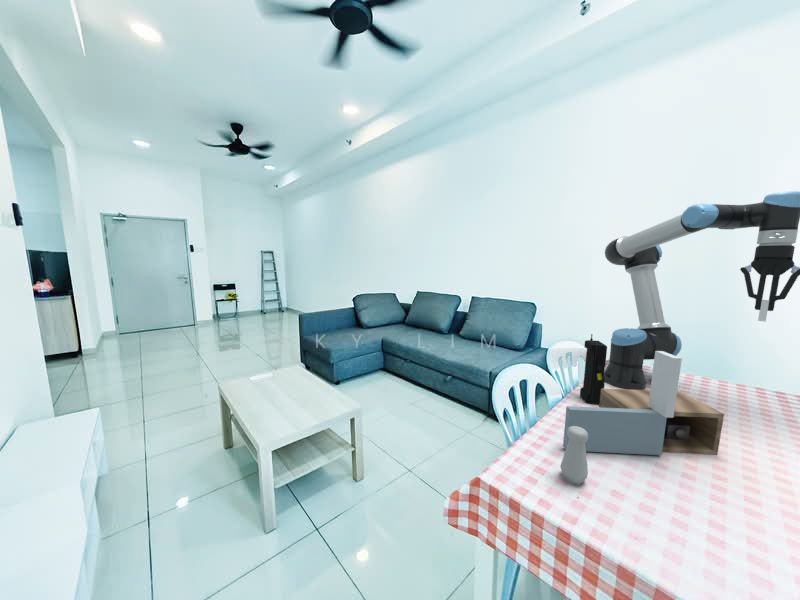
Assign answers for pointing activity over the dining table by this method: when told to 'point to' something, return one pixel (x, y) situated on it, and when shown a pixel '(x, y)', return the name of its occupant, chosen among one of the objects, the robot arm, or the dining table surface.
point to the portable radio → (594, 371)
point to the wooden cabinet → (675, 420)
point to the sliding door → (631, 416)
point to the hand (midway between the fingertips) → (761, 320)
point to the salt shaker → (575, 456)
